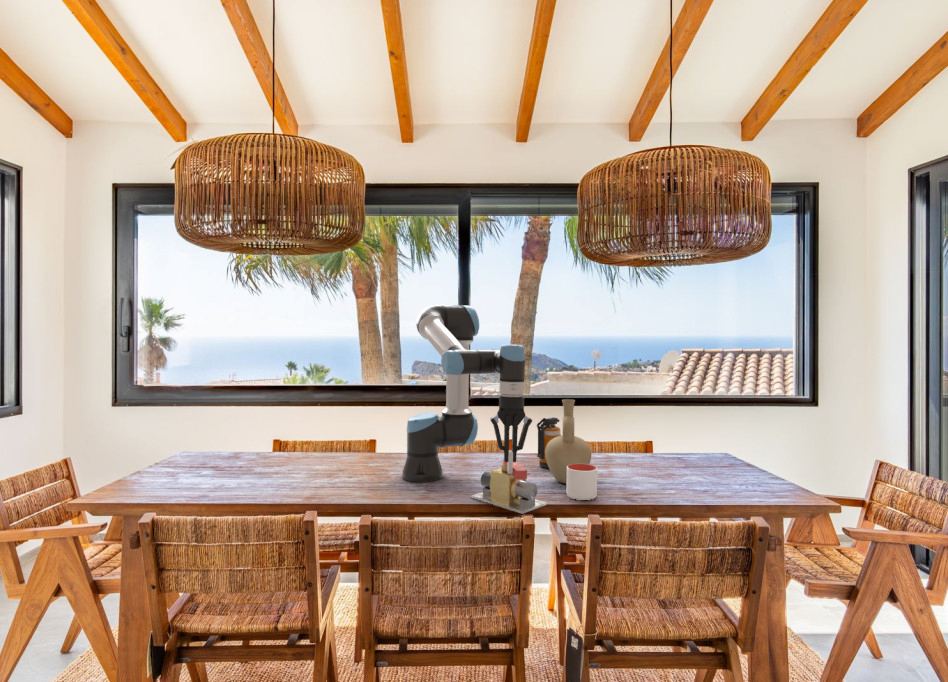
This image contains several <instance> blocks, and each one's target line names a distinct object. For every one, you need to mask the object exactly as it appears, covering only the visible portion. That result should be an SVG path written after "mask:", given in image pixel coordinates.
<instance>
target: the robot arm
mask: <svg viewBox="0 0 948 682" xmlns="http://www.w3.org/2000/svg"><path fill="white" fill-rule="evenodd" d="M416 329H417V332H418V334H419V335H420V336H421V337H422V338H423V339H424V340H427V341H428V342H429V343H430V344H431V345H432V346H433V348H434V349H435V350H436V352H438V354H439V355H440V356H441V358H440V359H441V360H440V361H441V362H440V363H441V368H442V372H443V373H444V374H445V375H446V385H445V387H446V389H445V393H446V394H445V397H446V398H445V400H446V401H445V402H446V403H445V407H444V408H443V409H442V411H441V416H439V414H438V413H436V412H430V413H429V412H428V413H427V412H426V413H425V412H424V413H419V414H415V415H413V416H411V417H409V418H408V419H407V424H406V459H405V461H404V462H405V463H404V466H403V469H402V472H401V474H402V479H403V480H404V481H409V482H415V483H428V482H435V481H437V480H440V479H442V478H443V477H444V476H443V475H444V471H443V468H442V464H441V461H440V457H439V449H440V448H441V449H442V448H450V447H463V446H468V445H469V446H470V445H472V444H473V443H474V442H475V440H476V438H477V435H478V432H479V431H478V430H479V429H478V428H479V423H478V420H477V419H478V418H477V417H476V416H475V415H474V414H473V411H472V409H471V408H470V406H469V390H470V389H469V388H470V387H469V386H470V385H469V384H470V382H469V381H470V380H469V378H470V375H475V374H476V375H482V374H484V375H485V374H486V375H488V374H489V375H490V374H492V375H493V374H497V375H499V397H498V411H497V413H496V415H495V416H493V417H492V416H491V417H490V418H489V420H490V422H491V423H492V425H493V430H494V435H495V438H496V441H497V442H496V443H497V447H498V449H499V450H501V451H503V459H504V461H505V462H507V472H508V474H513V462H516V463H517V453H518V452H519V451H521V450H523V448H524V447H525V446H524V445H525V442H526V438H527V434H528V431H529V427H530V426H531V425H532V423H533V419H532V418H531V417H528V416H527V415H526V412H525V396H523V395H525V375H526V374H525V372H526V369H525V367H526V351H525V350H526V347H525V346H524V345H522V344H502V345H501V346H500V349H497V348H495V349H494V348H491V349H470V345H471V343H473V342H474V337H475V336H478V334H479V330H480V320H479V315H478V313H477V310H475V308H474V307H473V306H471V305H463V304H432V305H430V306H429V305H428V306H427V307H425V308H423V310H421V312H420V313H419V314H418V316H417V318H416ZM499 421H500V422H501V423H502V424H503V427H504V430H503V431H504V435H503V441H502V437H501V436H502V435H501V433H500V426H499V425H498V423H499ZM522 421H523V425H522V430H521V433H520V436H519V440H518V430H519V425H520V424H521V422H522ZM510 428H511V430H512V431H511V450H510Z"/></svg>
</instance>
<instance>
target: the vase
mask: <svg viewBox="0 0 948 682" xmlns="http://www.w3.org/2000/svg"><path fill="white" fill-rule="evenodd" d="M575 402H576V400H575V399H573V398H571V399H570V398H564V399H562V400H561V403H562V407H563V417H562V436H558V437H555V438H553V439H552V440H551V441H549V443H548V444H547V446H546V449H545V457H546V461H547V464H548V467H549V468H548V469H549V471H550V473H551V474H552V476H553V478H554V480H555V481H558V483H561V484H566V481H567V466H568V465H570V464H589V465H591V464H590V463H591V460H592V449H591V446H590V445H589V443H588V442H587V441H586V440H585V439H583V438H581V437H578V436H575V418H574V408H575Z"/></svg>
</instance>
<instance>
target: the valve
mask: <svg viewBox="0 0 948 682" xmlns="http://www.w3.org/2000/svg"><path fill="white" fill-rule="evenodd" d="M480 484H481V485H482V486H483V487H482V492H478V493H475V494H472V495H470V498H471V497H473V498H476V499H480V500H483V501H486V502H489V503H491V504H490V505H492V504H493V506H495V507H499V508H503V509H504V510H505V509H506V510H508V511H511V512H515V513H518V514H520V515H521V514H522V515H523V514H526V513H529V512H531V511H534V510H537V509H540V508H543V507H545V506H547V504H548V503H547V502H546V501H543V500H539V499H536V497H537V494H538V486H537V484H536V483H532V482H529V481H527V479H519V480H516V479H515V478H514V477H513V476H512V475H511V474H508V472H505V471H502V470H501V467H500V468H495V469H492V470H490V471H483V473H482V475H481V476H480ZM473 498H472V499H473ZM476 499H475V500H476ZM483 501H482V502H483ZM486 502H485V503H486ZM489 503H488V504H489Z"/></svg>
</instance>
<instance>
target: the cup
mask: <svg viewBox="0 0 948 682" xmlns="http://www.w3.org/2000/svg"><path fill="white" fill-rule="evenodd" d="M565 484H566V487H565V488H566V491H565V492H566V496H567V497H568V498H569V499H572V500H575V499H576V500H575V501H580V500H588V501H592V500H595V499H596V497H597V495H598V467H597V466H595V465H592V464H570V465H568V466H567V481H566V483H565ZM591 499H592V500H591Z"/></svg>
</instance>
